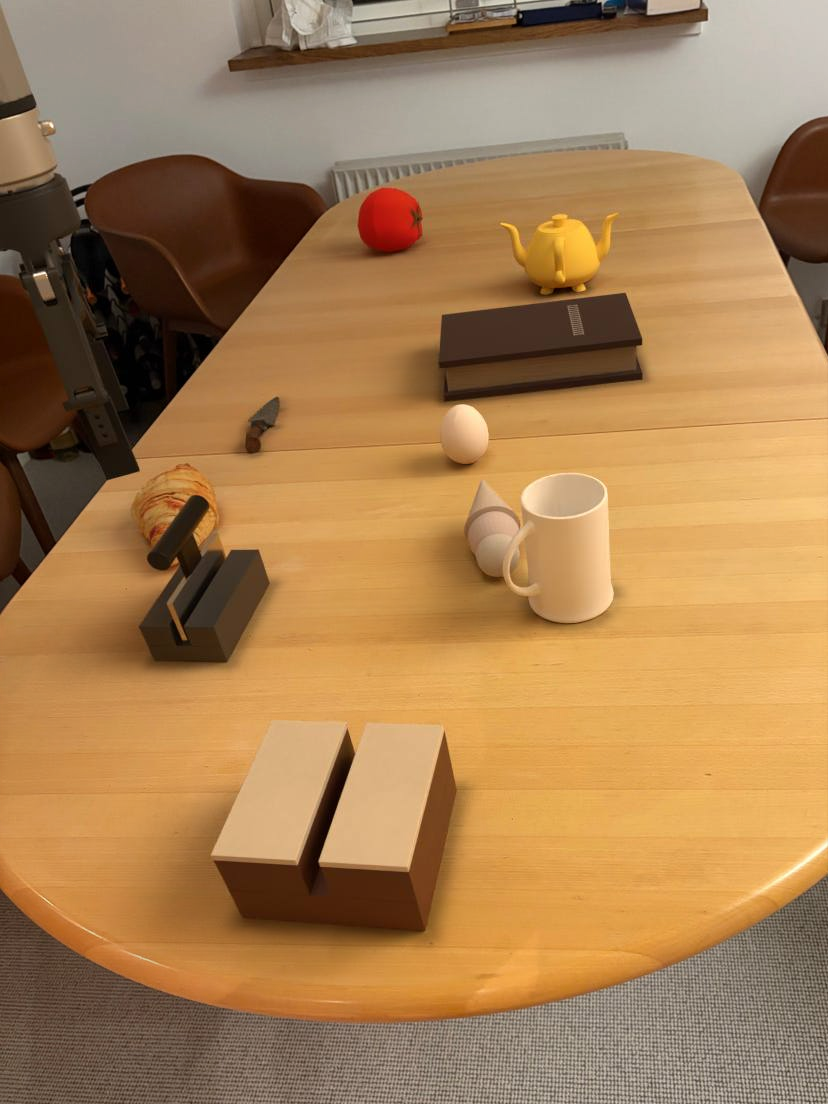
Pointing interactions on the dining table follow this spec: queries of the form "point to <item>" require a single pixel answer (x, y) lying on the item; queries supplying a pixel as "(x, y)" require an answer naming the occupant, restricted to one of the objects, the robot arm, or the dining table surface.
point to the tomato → (390, 220)
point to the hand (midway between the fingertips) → (118, 441)
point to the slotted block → (209, 612)
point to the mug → (565, 547)
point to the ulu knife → (188, 560)
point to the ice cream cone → (491, 531)
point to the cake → (340, 825)
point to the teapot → (561, 253)
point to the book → (539, 347)
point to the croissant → (173, 503)
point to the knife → (261, 424)
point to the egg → (464, 434)
